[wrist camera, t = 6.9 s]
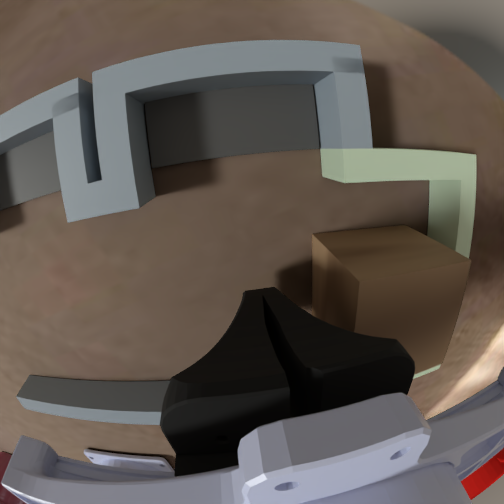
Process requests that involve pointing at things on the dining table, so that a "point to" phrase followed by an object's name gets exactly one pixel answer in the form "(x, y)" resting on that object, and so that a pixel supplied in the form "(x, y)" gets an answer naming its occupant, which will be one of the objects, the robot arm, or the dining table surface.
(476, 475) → the ceramic cup
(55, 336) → the dining table surface
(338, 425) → the robot arm
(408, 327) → the walnut block
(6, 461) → the plant pot
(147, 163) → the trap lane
